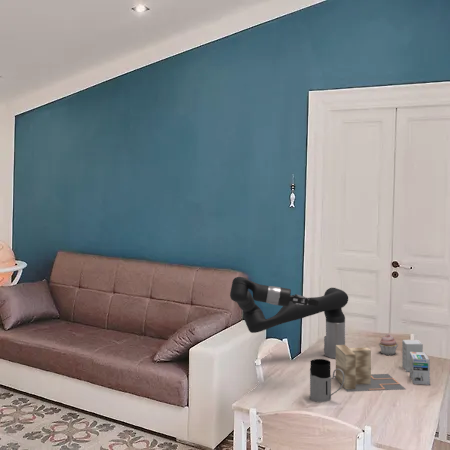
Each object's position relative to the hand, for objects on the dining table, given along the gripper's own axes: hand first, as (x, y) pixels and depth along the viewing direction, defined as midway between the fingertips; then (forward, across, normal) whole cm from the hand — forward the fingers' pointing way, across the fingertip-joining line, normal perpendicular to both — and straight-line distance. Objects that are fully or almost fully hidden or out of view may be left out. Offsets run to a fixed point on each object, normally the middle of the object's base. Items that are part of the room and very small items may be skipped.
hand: (317, 302), depth 220 cm
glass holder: (+8, +15, -36) cm, 40 cm away
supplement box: (+49, -25, -23) cm, 60 cm away
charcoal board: (+26, -4, -30) cm, 40 cm away
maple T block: (+20, -3, -30) cm, 36 cm away
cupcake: (+43, -49, -21) cm, 69 cm away
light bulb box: (+48, -11, -25) cm, 55 cm away
